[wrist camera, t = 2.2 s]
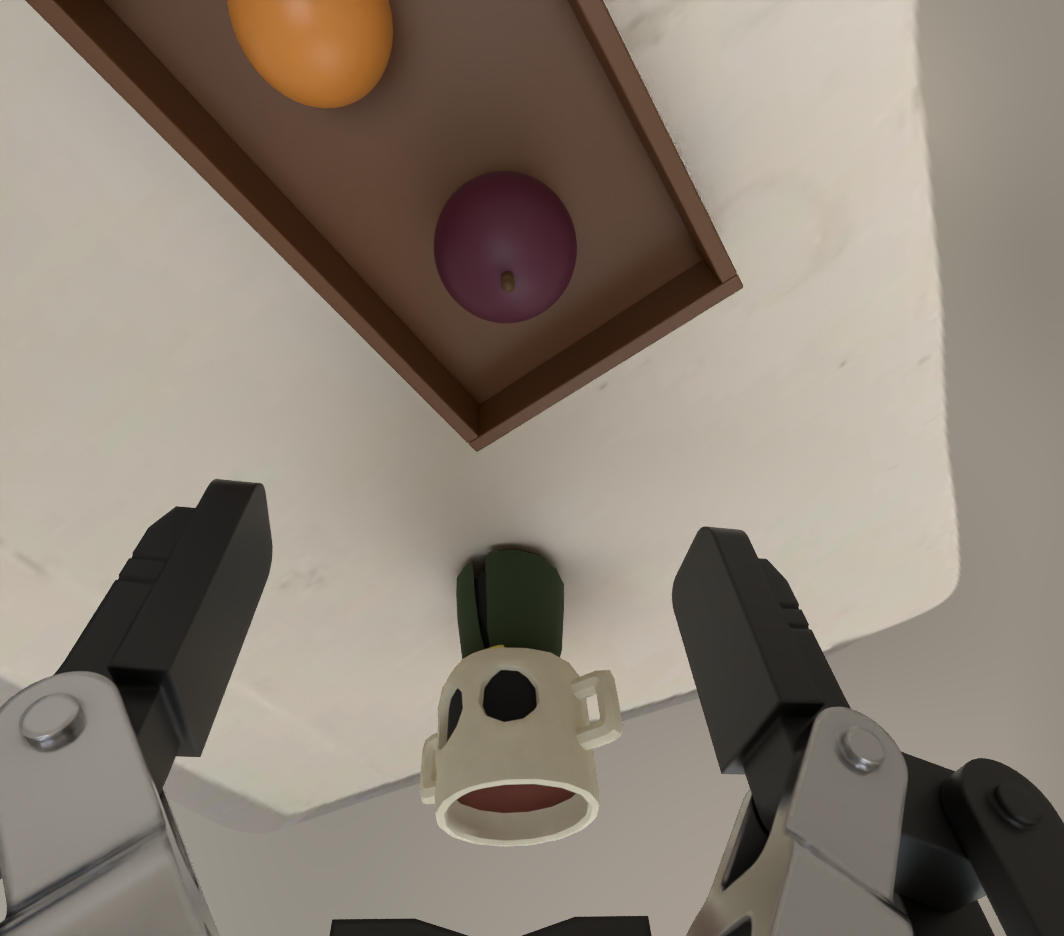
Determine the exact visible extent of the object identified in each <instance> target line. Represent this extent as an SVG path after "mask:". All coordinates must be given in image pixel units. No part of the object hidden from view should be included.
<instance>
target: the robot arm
mask: <svg viewBox="0 0 1064 936" xmlns="http://www.w3.org/2000/svg"><path fill="white" fill-rule="evenodd" d="M271 561H272V538H271V530H270V523H269V515H268V508H267V500H266V493H265V489H264V486H263V485H262V484H261V483H252V482H241V481H231V480H220V479H215V480H213V481H212V482H211V483H210V484H209V486H208V487H207V489H206V491H205V493H204V494H203V496H202V498H201V500H200V502H199V503H198V505H197V507H196V508H189V507H177V506H176V507H175V508H174V509H172V510H171V511H170V512H168V513H167V514H166V515H164V516H163V517H162V518H160V519H159V520H158V521H157V522H155V523H154V524H153V525H151V526H150V527H149V528H148V529H147V531H146V533H145V534H144V536H143V537H142V539H141V541H140V542H139V544H138V545H137V547H136V548H135V550H134V552H133V556H132V558H129V560H128V561H127V563H126V564H125V566H124V568H123V569H122V571H121V572H120V574H119V579H118V580H115V582H114V583H113V585H112V587H111V588H110V590H109V591H108V593H107V594H106V596H105V598H104V599H103V601H102V602H101V604H100V606H99V607H98V609H97V610H96V612H95V613H94V615H93V617H92V618H91V620H90V621H89V623H88V625H87V626H86V628H85V629H84V631H83V632H82V634H81V636H80V637H79V639H78V640H77V642H76V644H75V645H74V647H73V648H72V650H71V651H70V653H69V655H68V656H67V658H66V659H65V661H64V662H63V664H62V665H61V666H60V668H59V669H58V670H57V672H56V673H55V674H54V675H53V676H50V677H47V678H45V679H42V680H40V681H38V682H35V683H33V684H31V685H29V686H28V687H26V688H24V689H23V690H21V691H19V692H18V693H17V694H15V695H14V696H13V697H11V698H10V699H9V700H8V701H7V702H6V703H4V704H3V705H2V706H1V707H0V879H1V878H2V879H3V884H4V889H5V895H6V902H7V915H6V918H5V920H4V921H2V922H1V923H0V936H220V935H219V932H218V930H217V927H216V925H215V922H214V920H213V918H212V915H211V913H210V910H209V908H208V905H207V903H206V900H205V898H204V895H203V892H202V890H201V887H200V884H199V881H198V879H197V876H196V873H195V871H194V868H193V865H192V862H191V860H190V857H189V854H188V852H187V849H186V846H185V843H184V841H183V838H182V835H181V833H180V830H179V827H178V824H177V822H176V819H175V816H174V814H173V811H172V808H171V806H170V803H169V800H168V797H167V795H166V792H165V789H164V787H163V786H164V784H165V781H166V779H167V777H168V774H169V772H170V769H171V767H172V764H173V762H174V759H175V757H176V756H185V757H200V756H201V754H202V751H203V749H204V746H205V743H206V741H207V738H208V735H209V733H210V730H211V727H212V725H213V722H214V719H215V717H216V714H217V711H218V709H219V706H220V703H221V701H222V698H223V695H224V693H225V690H226V688H227V685H228V682H229V680H230V677H231V674H232V672H233V669H234V666H235V664H236V661H237V658H238V656H239V653H240V650H241V648H242V645H243V642H244V640H245V637H246V634H247V632H248V629H249V627H250V624H251V621H252V619H253V616H254V613H255V611H256V608H257V605H258V603H259V600H260V597H261V595H262V592H263V589H264V587H265V584H266V581H267V579H268V575H269V572H270V567H271ZM672 603H673V609H674V613H675V616H676V620H677V623H678V626H679V630H680V633H681V637H682V640H683V643H684V647H685V650H686V654H687V657H688V661H689V664H690V667H691V671H692V674H693V678H694V681H695V685H696V688H697V691H698V695H699V698H700V702H701V705H702V709H703V712H704V715H705V719H706V722H707V726H708V729H709V733H710V736H711V739H712V743H713V746H714V749H715V753H716V757H717V760H718V763H719V767H720V770H721V773H722V774H746V777H747V780H748V784H749V786H750V790H749V791H748V792H747V793H746V795H745V797H744V799H743V802H742V804H741V807H740V810H739V813H738V816H737V818H736V821H735V824H734V827H733V830H732V832H731V835H730V838H729V841H728V844H727V847H726V849H725V852H724V854H723V857H722V860H721V863H720V866H719V868H718V871H717V874H716V877H715V879H714V882H713V885H712V888H711V890H710V893H709V895H708V897H707V899H706V901H705V903H704V905H703V907H702V908H701V910H700V912H699V913H698V915H697V916H696V918H695V920H694V921H693V923H692V925H691V927H690V929H689V931H688V933H687V935H686V936H994V934H993V932H992V929H991V927H990V926H989V923H988V921H987V919H986V917H985V915H984V913H983V911H982V909H981V907H980V905H979V903H978V901H977V900H978V899H980V898H982V897H984V896H986V895H987V897H988V899H989V901H990V903H991V905H992V907H993V909H994V911H995V913H996V915H997V917H998V919H999V921H1000V923H1001V925H1002V927H1003V929H1004V931H1005V933H1006V935H1007V936H1064V823H1063V822H1062V820H1061V818H1060V817H1059V815H1058V814H1057V812H1056V810H1055V809H1054V808H1053V806H1052V805H1051V803H1050V802H1049V801H1048V799H1047V798H1046V797H1045V796H1044V795H1043V794H1042V792H1041V791H1040V790H1039V789H1038V788H1037V787H1036V786H1035V785H1033V784H1032V783H1031V782H1030V781H1029V780H1028V779H1026V778H1025V777H1024V776H1023V775H1021V774H1020V773H1018V772H1017V771H1015V770H1013V769H1012V768H1010V767H1009V766H1006V765H1004V764H1002V763H1000V762H997V761H994V760H990V759H983V758H978V759H974V760H971V761H969V762H968V763H966V764H965V765H964V766H963V767H961V768H960V769H958V770H957V771H956V772H955V771H952V770H950V769H947V768H944V767H941V766H939V765H936V764H933V763H930V762H928V761H925V760H922V759H919V758H916V757H914V756H911V755H908V754H905V753H903V752H901V751H900V749H899V748H898V746H897V745H896V743H895V741H894V740H893V739H892V738H891V737H890V735H889V734H888V733H887V732H886V731H885V730H884V729H883V728H882V727H881V726H880V725H878V724H877V723H876V722H875V721H873V720H872V719H870V718H869V717H867V716H866V715H864V714H862V713H860V712H857V711H855V710H852V709H851V708H850V706H849V704H848V702H847V701H846V699H845V697H844V695H843V692H842V691H841V689H840V687H839V685H838V682H837V680H836V679H835V676H834V675H833V672H832V670H831V668H830V666H829V664H828V662H827V660H826V658H825V656H824V654H823V652H822V650H821V648H820V646H819V644H818V642H817V640H816V638H815V636H814V634H813V632H812V630H809V629H808V625H809V624H808V622H807V620H806V618H805V616H804V614H803V612H802V610H799V608H798V607H799V604H798V602H797V600H796V598H795V596H794V594H793V592H792V590H791V588H790V586H789V584H788V582H787V580H786V579H785V578H784V577H783V576H782V575H781V574H780V573H779V572H778V571H777V570H776V568H775V567H774V566H773V565H772V564H771V563H770V562H769V561H768V560H767V559H759V558H758V557H757V555H756V553H755V551H754V548H753V546H752V544H751V542H750V540H749V538H748V536H747V534H746V533H745V532H744V531H742V530H736V529H725V528H715V527H702V528H701V529H700V530H699V531H698V532H697V534H696V536H695V538H694V540H693V542H692V544H691V546H690V548H689V550H688V552H687V554H686V556H685V559H684V561H683V563H682V565H681V567H680V569H679V571H678V573H677V575H676V577H675V580H674V583H673V589H672ZM330 936H467V935H464V934H461V933H458V932H455V931H452V930H449V929H446V928H442V927H439V926H436V925H433V924H430V923H426V922H424V921H420V920H417V919H345V920H343V919H342V920H341V919H340V920H332V925H331V931H330ZM523 936H651V931H650V925H649V919H648V916H615V917H614V916H609V917H608V916H606V917H573V918H571V919H568V920H565V921H562V922H559V923H556V924H554V925H551V926H548V927H545V928H542V929H540V930H537V931H534V932H531V933H528V934H526V935H523Z"/></svg>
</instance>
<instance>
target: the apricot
mask: <svg viewBox="0 0 1064 936" xmlns="http://www.w3.org/2000/svg"><path fill="white" fill-rule="evenodd" d="M227 4H228V10H229V16H230V19H231V23H232V27H233V30H234V32H235V35H236V37H237V40H238V42H239V44H240V46H241V48H242V50H243V52H244V54H245V55H246V57H247V58H248V60H249V62H250V63H251V64H252V66H253V67H254V68H255V69H256V71H257V72H258V73H259V74H260V75H261V76H262V77H263V79H264V80H265V81H266V82H267V83H269V84H270V85H271V86H272V87H273V88H274V89H276V90H277V91H279V92H280V93H281V94H283V95H284V96H286V97H288V98H290V99H292V100H294V101H296V102H299V103H301V104H304V105H307V106H311V107H315V108H324V109H327V108H338V107H343V106H346V105H349V104H352V103H354V102H356V101H358V100H360V99H361V98H363V97H364V96H365V95H367V94H368V93H369V92H370V91H371V90H372V89H373V88H374V87H375V86H376V84H377V83H378V81H379V80H380V78H381V77H382V75H383V73H384V71H385V69H386V66H387V64H388V61H389V57H390V53H391V48H392V41H393V20H392V13H391V7H390V3H389V0H227Z"/></svg>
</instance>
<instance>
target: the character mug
mask: <svg viewBox="0 0 1064 936" xmlns="http://www.w3.org/2000/svg"><path fill="white" fill-rule="evenodd" d="M485 562H486V572H483V573H481V574H480V575H479V576H478V577H477V578H475V579H474V577H473V563H472V562H470V563H468V564H467V565H466V566H465V568H464V569H463V570H462V572H461V573H460V574H459V576H458V577H457V591H456V596H457V616H458V627H459V635H460V643H461V652H462V660H461V662H460V663H459V664H458V665H457V666H456V667H455V668H454V670H453V671H452V673H451V674H450V676H449V678H448V679H447V681H446V683H445V685H444V686H443V688H442V692H441V697H440V701H439V706H438V733H436V734H433V735H431V736H430V737H429V738H428V739H426V740H425V743H424V747H423V752H422V764H421V775H420V788H419V790H420V796H421V799H422V802H423V803H424V804H434V803H435V814H436V818H437V823H438V826H439V827H440V828H441V829H443V830H444V831H445V832H446V833H448V834H449V835H450V836H451V837H454V838H458V839H461V840H464V841H468V842H470V843H474V844H483V845H492V846H522V845H534V844H539V843H544V842H549V841H554V840H558V839H562V838H564V837H566V836H569V835H571V834H574V833H576V832H578V831H581V830H583V829H584V828H585V827H586V826H587V825H588V824H590V823H591V822H592V821H593V820H594V819H595V818H596V817H597V813H598V808H599V789H598V782H597V774H596V768H595V760H594V752H593V748H596V747H599V746H602V745H605V744H608V743H610V742H613V741H615V740H616V739H617V738H618V737H620V736H621V735H622V726H623V724H622V718H621V713H620V707H619V702H618V696H617V691H616V685H615V680H614V677H613V675H612V674H611V672H610V670H602V671H594V672H591V673H589V674H586V675H584V676H581V677H579V675H578V674H577V673H576V671H575V670H574V669H573V667H572V666H571V665H570V663H569V662H567V661H565V660H563V659H561V658H560V655H561V651H562V634H563V614H564V584H563V582H562V580H561V578H560V576H559V574H558V572H557V570H556V569H555V568H554V567H553V566H551V565H550V564H549V563H548V562H547V561H545V560H544V559H543V558H542V557H540V556H539V555H537V554H532V553H527V552H523V551H518V550H507V551H498V552H490V553H488V554H487V555H485ZM596 694H597V699H598V706H599V712H600V720H599V721H598V722H596V723H593V724H590V723H589V716H588V709H587V701H586V698H588V697H590V696H593V695H596Z"/></svg>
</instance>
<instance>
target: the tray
mask: <svg viewBox="0 0 1064 936" xmlns="http://www.w3.org/2000/svg"><path fill="white" fill-rule="evenodd" d="M26 1H27V2H28V3H29V4H30V5H31V6H32V7H33V8H34V9H35V10H36V11H37V12H38V13H39V14H40V15H41V16H42V17H43V18H44V19H45V20H46V21H47V22H48V23H49V24H50V25H51V26H52V27H53V28H54V29H55V30H56V31H57V32H58V33H59V34H60V35H61V36H62V37H63V38H64V39H65V40H66V41H67V42H68V43H69V44H70V45H71V46H72V47H73V48H74V49H75V50H76V51H77V52H78V53H79V54H80V55H81V56H82V57H83V58H84V59H85V60H86V61H87V62H88V63H89V64H90V65H91V66H92V67H93V68H94V69H95V70H96V71H97V72H98V73H99V74H100V75H101V76H102V77H103V78H104V79H105V80H106V81H107V82H108V83H109V84H110V85H111V86H112V87H113V88H114V89H115V90H116V91H117V92H118V93H119V94H120V95H121V96H122V97H123V98H124V99H125V100H126V101H127V102H128V103H129V104H130V105H131V106H132V107H133V108H134V109H135V110H136V111H137V112H138V113H139V114H140V115H141V116H142V117H143V118H144V119H145V120H146V121H147V122H148V123H149V124H150V125H151V126H152V127H153V128H154V129H155V130H156V131H157V132H158V133H159V134H160V135H161V136H162V137H163V138H164V139H165V140H166V141H167V142H168V143H169V144H170V145H171V146H172V147H173V148H174V149H175V150H176V151H177V152H178V153H179V154H180V155H181V156H182V157H183V158H184V159H185V160H186V161H187V162H188V163H189V164H190V165H191V166H192V167H193V168H194V169H195V170H196V171H197V172H198V173H199V174H200V175H201V176H202V177H203V178H204V179H205V180H206V181H207V182H208V183H209V184H210V185H211V186H212V187H213V188H214V189H215V190H216V191H217V192H218V193H219V194H220V195H221V196H222V197H223V198H224V199H225V200H226V201H227V202H228V203H229V204H230V205H231V206H232V207H233V208H234V209H235V210H236V211H237V212H238V213H239V214H240V215H241V216H242V217H243V218H244V219H245V220H246V221H247V222H248V223H249V224H250V225H251V226H252V227H253V228H254V229H255V230H256V231H257V232H258V233H259V234H260V235H261V236H262V237H263V238H264V239H265V240H266V241H267V242H268V243H269V244H270V245H271V246H272V247H273V248H274V249H275V250H276V251H277V252H278V253H279V254H280V255H281V256H282V257H283V258H284V259H285V260H286V261H287V262H288V263H289V264H290V265H291V266H292V267H293V268H294V269H295V270H296V271H297V272H298V273H299V274H300V275H301V276H302V277H303V279H304V280H305V281H306V282H307V283H308V284H309V285H310V286H311V287H312V288H313V289H314V290H315V291H316V292H317V293H318V294H319V295H320V296H321V297H322V298H323V299H324V300H325V301H326V302H327V303H328V304H329V305H330V306H331V307H332V308H333V309H334V310H335V311H336V312H337V313H338V314H339V315H340V316H341V317H342V318H343V319H344V320H345V321H346V322H347V323H348V324H349V325H350V326H351V327H352V328H353V329H354V330H355V331H356V332H357V333H358V334H359V335H360V336H361V337H362V338H363V339H364V340H365V341H366V342H367V343H368V344H369V345H370V346H371V347H372V348H373V349H374V350H375V351H376V352H377V353H378V354H379V355H380V356H381V357H382V358H383V359H384V360H385V361H386V362H387V363H388V364H389V365H390V366H391V367H392V368H393V369H394V370H395V371H396V372H397V373H398V374H399V375H400V376H401V377H402V378H403V379H404V380H405V381H406V382H407V383H408V384H409V385H410V386H411V387H412V388H413V389H414V390H415V391H416V392H417V393H418V394H419V395H420V396H421V397H422V398H423V399H424V400H425V401H426V402H427V403H428V404H429V405H430V406H431V407H432V408H433V409H434V410H435V411H436V412H437V413H438V414H439V415H440V416H441V417H442V418H443V419H444V420H445V421H446V422H447V423H448V424H449V425H450V426H451V427H452V428H453V429H454V430H455V431H456V432H457V433H458V434H459V435H460V436H461V437H462V438H463V439H464V440H465V441H466V442H468V443H469V445H470V446H471V447H472V448H473V449H474V450H475V451H477V452H478V451H479V450H481V449H483V448H484V447H486V446H487V445H489V444H491V443H492V442H494V441H496V440H497V439H499V438H500V437H502V436H504V435H505V434H507V433H509V432H510V431H512V430H513V429H515V428H517V427H518V426H520V425H521V424H523V423H525V422H526V421H528V420H530V419H531V418H533V417H534V416H536V415H538V414H539V413H541V412H543V411H544V410H546V409H547V408H549V407H551V406H552V405H554V404H555V403H557V402H559V401H560V400H562V399H564V398H565V397H567V396H568V395H570V394H572V393H573V392H575V391H576V390H578V389H580V388H581V387H583V386H585V385H586V384H588V383H589V382H591V381H593V380H594V379H596V378H598V377H599V376H601V375H602V374H604V373H606V372H607V371H609V370H610V369H612V368H614V367H615V366H617V365H619V364H620V363H622V362H623V361H625V360H627V359H628V358H630V357H631V356H633V355H635V354H636V353H638V352H640V351H641V350H643V349H644V348H646V347H648V346H649V345H651V344H653V343H654V342H656V341H657V340H659V339H661V338H662V337H664V336H665V335H667V334H669V333H670V332H672V331H674V330H675V329H677V328H678V327H680V326H682V325H683V324H685V323H687V322H688V321H690V320H691V319H693V318H695V317H696V316H698V315H699V314H701V313H703V312H704V311H706V310H708V309H709V308H711V307H712V306H714V305H716V304H717V303H719V302H720V301H722V300H724V299H725V298H727V297H729V296H730V295H732V294H733V293H735V292H737V291H738V290H740V289H742V288H743V284H742V282H741V280H740V278H739V276H738V275H737V273H736V270H735V268H734V266H733V264H732V262H731V260H730V258H729V256H728V254H727V252H726V250H725V248H724V246H723V244H722V242H721V240H720V237H719V235H718V233H717V231H716V229H715V227H714V225H713V223H712V221H711V219H710V217H709V215H708V213H707V211H706V209H705V207H704V205H703V203H702V201H701V199H700V197H699V195H698V193H697V191H696V189H695V187H694V185H693V183H692V181H691V179H690V177H689V174H688V172H687V170H686V168H685V166H684V164H683V162H682V160H681V158H680V156H679V154H678V152H677V150H676V148H675V146H674V144H673V142H672V140H671V138H670V136H669V134H668V132H667V130H666V128H665V126H664V124H663V122H662V120H661V118H660V116H659V113H658V111H657V109H656V107H655V105H654V103H653V101H652V99H651V97H650V95H649V93H648V91H647V89H646V87H645V85H644V83H643V81H642V79H641V77H640V75H639V73H638V71H637V69H636V67H635V65H634V63H633V61H632V59H631V57H630V55H629V53H628V50H627V48H626V46H625V44H624V42H623V40H622V38H621V36H620V34H619V32H618V30H617V28H616V26H615V24H614V22H613V20H612V18H611V16H610V14H609V12H608V10H607V8H606V6H605V4H604V2H603V0H389V3H390V7H391V13H392V20H393V41H392V48H391V53H390V57H389V61H388V64H387V66H386V69H385V71H384V73H383V75H382V77H381V78H380V80H379V81H378V83H377V84H376V86H375V87H374V88H373V89H372V90H371V91H370V92H369V93H368V94H367V95H365V96H364V97H363V98H361V99H360V100H358V101H356V102H354V103H352V104H349V105H346V106H343V107H338V108H327V109H324V108H315V107H311V106H307V105H304V104H301V103H299V102H296V101H294V100H292V99H290V98H288V97H286V96H284V95H283V94H281V93H280V92H279V91H277V90H276V89H274V88H273V87H272V86H271V85H270V84H269V83H267V82H266V81H265V80H264V79H263V77H262V76H261V75H260V74H259V73H258V72H257V71H256V69H255V68H254V67H253V66H252V64H251V63H250V62H249V60H248V58H247V57H246V55H245V54H244V52H243V50H242V48H241V46H240V44H239V42H238V40H237V37H236V35H235V32H234V30H233V27H232V23H231V19H230V16H229V10H228V4H227V0H26ZM495 171H513V172H519V173H523V174H526V175H528V176H531V177H533V178H536V179H537V180H539V181H541V182H543V183H544V184H545V185H547V186H548V187H549V188H550V189H552V190H553V192H554V193H555V194H556V195H557V196H558V197H559V198H560V200H561V201H562V202H563V204H564V205H565V207H566V209H567V211H568V212H569V214H570V217H571V219H572V222H573V225H574V229H575V233H576V241H577V257H576V263H575V268H574V271H573V275H572V277H571V280H570V282H569V284H568V286H567V288H566V289H565V291H564V292H563V294H562V295H561V296H560V298H559V299H558V300H557V301H556V302H555V303H554V304H553V305H552V306H551V307H550V308H549V309H547V310H546V311H545V312H543V313H541V314H540V315H538V316H536V317H534V318H532V319H529V320H526V321H522V322H517V323H496V322H491V321H487V320H484V319H481V318H479V317H477V316H474V315H473V314H471V313H469V312H468V311H466V310H465V309H464V308H463V307H461V306H460V305H459V304H458V303H457V302H456V301H455V300H454V299H453V298H452V297H451V295H450V294H449V293H448V291H447V290H446V288H445V286H444V285H443V283H442V281H441V278H440V276H439V273H438V271H437V267H436V263H435V257H434V235H435V229H436V225H437V221H438V219H439V216H440V214H441V212H442V209H443V208H444V206H445V204H446V203H447V201H448V200H449V198H450V197H451V196H452V195H453V193H454V192H455V191H457V190H458V189H459V188H460V187H461V186H462V185H464V184H465V183H466V182H468V181H469V180H471V179H473V178H475V177H477V176H480V175H483V174H486V173H490V172H495Z"/></svg>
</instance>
